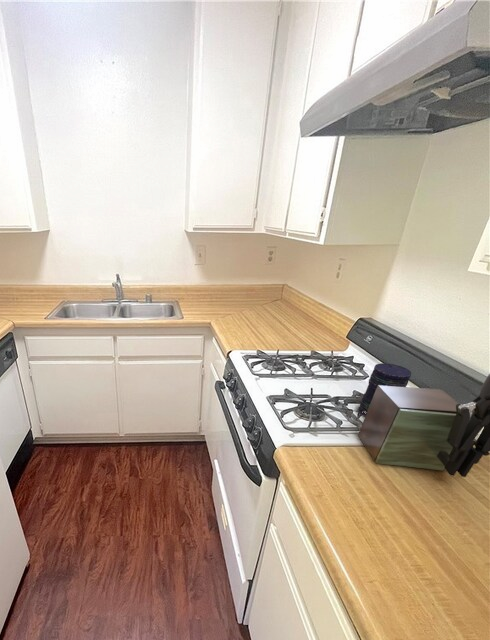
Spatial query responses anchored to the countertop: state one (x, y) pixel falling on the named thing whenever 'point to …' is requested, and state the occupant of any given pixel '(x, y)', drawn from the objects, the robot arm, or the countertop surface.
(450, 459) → the robot arm
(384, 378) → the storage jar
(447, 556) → the countertop surface
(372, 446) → the cupboard
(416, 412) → the door
